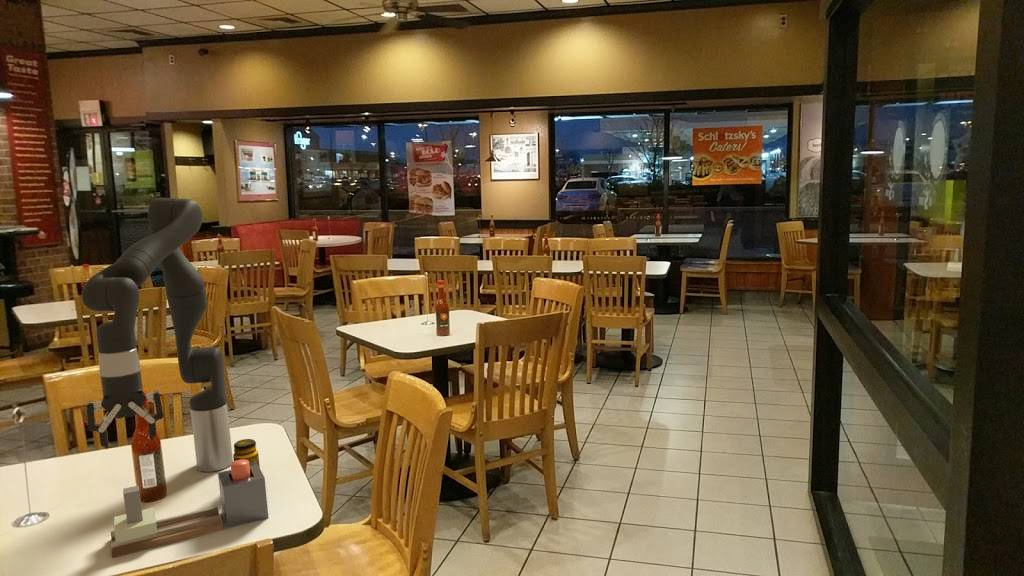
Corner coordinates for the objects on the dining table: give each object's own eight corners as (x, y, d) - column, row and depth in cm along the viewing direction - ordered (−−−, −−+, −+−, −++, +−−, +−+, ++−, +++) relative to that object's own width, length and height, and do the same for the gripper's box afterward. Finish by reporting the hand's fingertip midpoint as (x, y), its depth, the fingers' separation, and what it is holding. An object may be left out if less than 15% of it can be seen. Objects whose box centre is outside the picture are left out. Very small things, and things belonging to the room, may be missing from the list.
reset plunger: (231, 486, 167) (229, 462, 166) (249, 481, 169) (247, 458, 168) (234, 492, 164) (231, 468, 163) (252, 488, 166) (250, 464, 165)
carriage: (115, 527, 158) (110, 487, 156) (155, 517, 162) (150, 478, 160) (115, 543, 151) (110, 501, 149) (157, 532, 155) (152, 492, 153)
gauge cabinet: (222, 512, 169) (217, 472, 168) (261, 502, 174) (257, 464, 172) (227, 528, 162) (223, 487, 160) (268, 517, 166) (264, 477, 164)
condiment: (266, 487, 182) (261, 443, 180) (231, 496, 177) (226, 451, 175) (258, 477, 188) (254, 434, 186) (224, 486, 183) (220, 442, 181)
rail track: (112, 539, 158) (110, 528, 158) (217, 513, 169) (216, 503, 168) (112, 557, 151) (110, 546, 150) (222, 529, 161) (221, 519, 161)
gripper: (156, 361, 158) (164, 431, 160) (81, 372, 151) (91, 445, 153) (158, 369, 151) (167, 441, 154) (80, 380, 145) (91, 456, 147)
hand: (129, 443), depth 154 cm, fingers open, 8 cm apart
